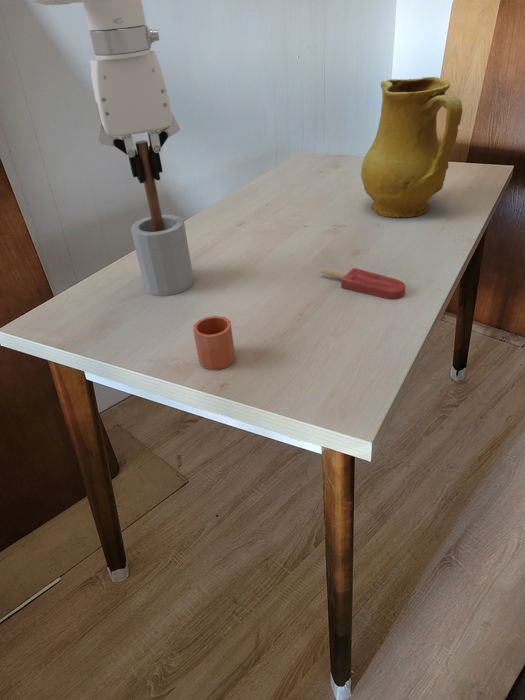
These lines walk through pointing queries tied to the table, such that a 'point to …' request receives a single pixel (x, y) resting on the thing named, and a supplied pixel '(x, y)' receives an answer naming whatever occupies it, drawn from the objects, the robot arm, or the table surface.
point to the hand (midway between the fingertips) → (148, 178)
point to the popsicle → (370, 283)
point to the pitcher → (410, 146)
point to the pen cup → (214, 342)
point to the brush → (150, 186)
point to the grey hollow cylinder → (163, 256)
